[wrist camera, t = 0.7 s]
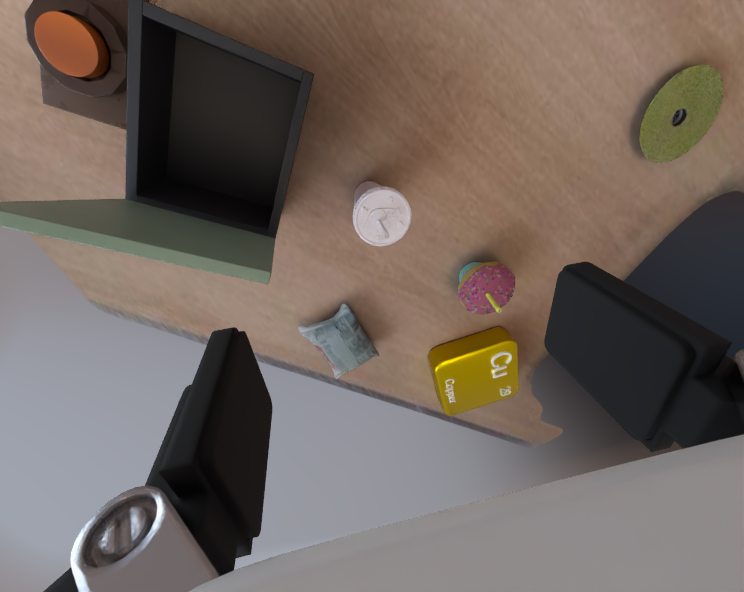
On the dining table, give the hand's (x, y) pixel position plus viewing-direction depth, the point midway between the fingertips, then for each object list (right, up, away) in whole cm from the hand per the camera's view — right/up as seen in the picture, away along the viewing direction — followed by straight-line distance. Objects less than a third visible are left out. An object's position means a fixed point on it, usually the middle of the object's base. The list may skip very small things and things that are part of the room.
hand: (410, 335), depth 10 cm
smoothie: (-2, +14, +34) cm, 37 cm away
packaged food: (-7, -5, +45) cm, 46 cm away
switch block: (-27, +25, +22) cm, 43 cm away
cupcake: (+15, +5, +43) cm, 46 cm away
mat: (+39, +26, +35) cm, 59 cm away
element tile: (+18, -12, +54) cm, 58 cm away
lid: (-16, +6, +15) cm, 23 cm away
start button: (-27, +23, +19) cm, 41 cm away
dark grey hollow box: (-17, +20, +27) cm, 38 cm away
